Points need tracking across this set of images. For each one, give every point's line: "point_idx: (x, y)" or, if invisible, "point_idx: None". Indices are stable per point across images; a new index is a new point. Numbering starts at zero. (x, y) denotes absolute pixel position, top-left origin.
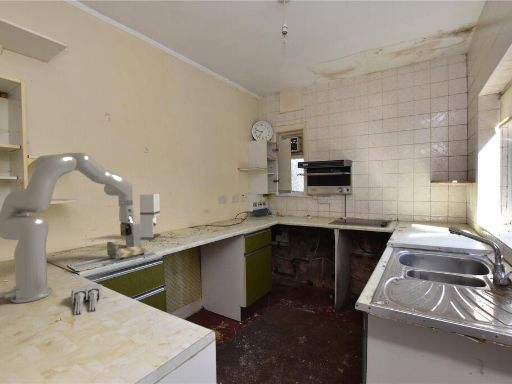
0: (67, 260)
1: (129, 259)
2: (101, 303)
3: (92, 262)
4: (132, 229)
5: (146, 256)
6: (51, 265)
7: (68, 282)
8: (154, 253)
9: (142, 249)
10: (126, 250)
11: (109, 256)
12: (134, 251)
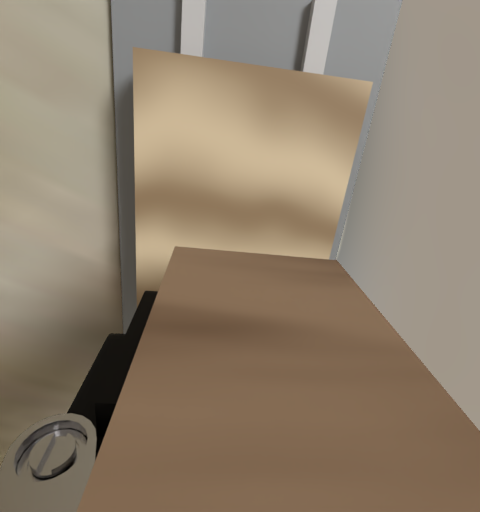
0: (7, 443)
1: (334, 256)
2: None
3: None
4: (388, 332)
5: (369, 112)
6: None
7: None
8: (387, 3)
9: (348, 124)
10: (237, 241)
11: (129, 297)
12: (338, 218)
